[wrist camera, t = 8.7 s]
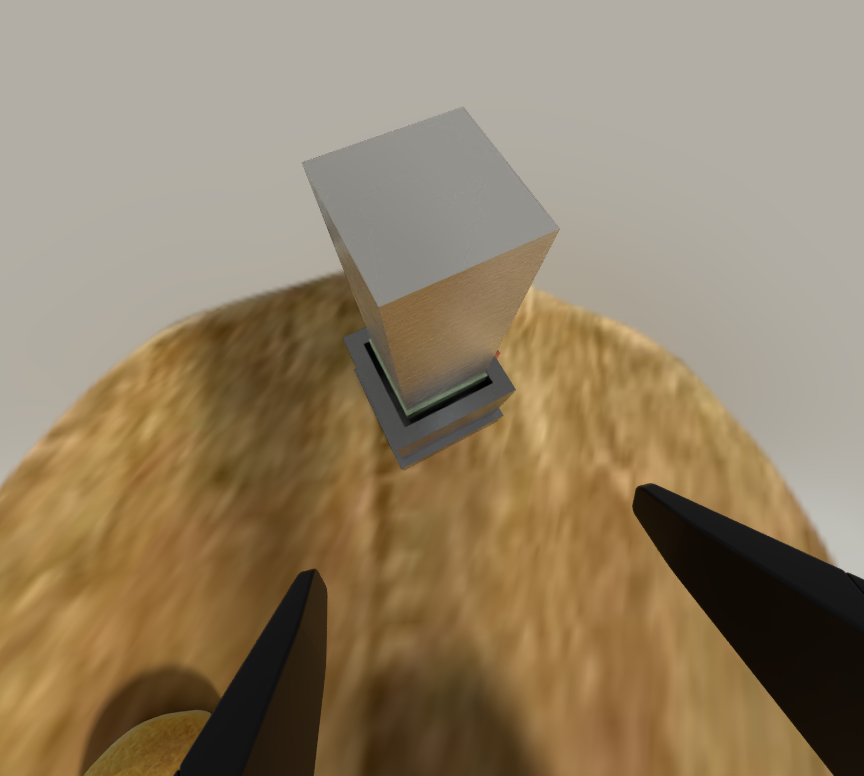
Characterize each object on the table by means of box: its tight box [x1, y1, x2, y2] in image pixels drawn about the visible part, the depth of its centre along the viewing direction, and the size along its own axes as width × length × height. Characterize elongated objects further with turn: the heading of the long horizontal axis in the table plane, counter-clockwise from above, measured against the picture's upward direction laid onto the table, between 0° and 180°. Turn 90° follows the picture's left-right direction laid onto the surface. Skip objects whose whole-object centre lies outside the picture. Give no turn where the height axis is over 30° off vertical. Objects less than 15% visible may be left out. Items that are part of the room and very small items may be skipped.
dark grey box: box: [343, 327, 516, 470], centre depth 19 cm, size 7×7×7 cm
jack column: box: [302, 107, 560, 423], centre depth 12 cm, size 4×4×11 cm
